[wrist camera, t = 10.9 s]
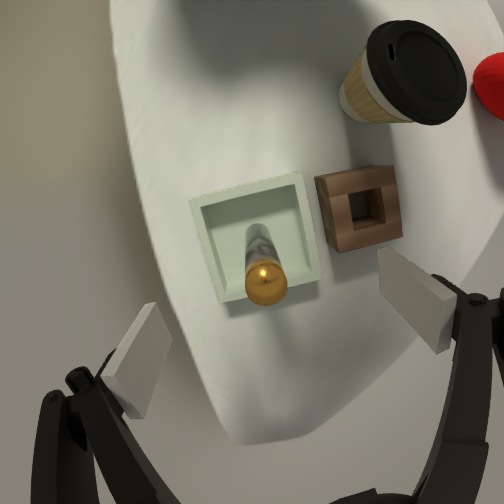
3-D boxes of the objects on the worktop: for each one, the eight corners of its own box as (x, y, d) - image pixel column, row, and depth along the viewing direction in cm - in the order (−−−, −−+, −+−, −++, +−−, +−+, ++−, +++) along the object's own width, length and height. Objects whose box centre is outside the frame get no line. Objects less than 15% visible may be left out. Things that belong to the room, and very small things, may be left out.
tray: (194, 197, 32) (188, 200, 29) (295, 172, 32) (301, 172, 28) (221, 290, 35) (219, 303, 32) (315, 268, 35) (322, 278, 31)
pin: (242, 226, 33) (240, 271, 18) (266, 220, 32) (282, 261, 18) (248, 249, 33) (250, 309, 19) (272, 243, 33) (291, 300, 19)
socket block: (314, 177, 32) (325, 178, 27) (374, 165, 31) (393, 165, 27) (326, 241, 34) (339, 253, 29) (383, 227, 34) (402, 236, 29)
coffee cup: (396, 142, 31) (476, 135, 16) (323, 132, 30) (380, 108, 16) (393, 73, 28) (462, 36, 13) (322, 58, 28) (368, -1, 13)
